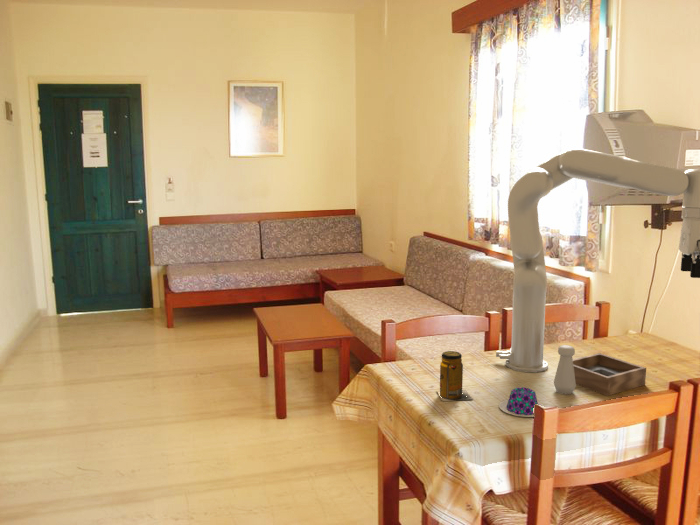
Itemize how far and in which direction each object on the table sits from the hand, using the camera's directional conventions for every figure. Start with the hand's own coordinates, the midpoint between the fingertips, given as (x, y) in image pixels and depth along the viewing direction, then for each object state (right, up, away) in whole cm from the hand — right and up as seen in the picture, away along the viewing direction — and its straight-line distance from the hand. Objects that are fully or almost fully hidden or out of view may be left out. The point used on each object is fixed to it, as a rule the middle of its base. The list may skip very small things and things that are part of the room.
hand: (691, 274), depth 188 cm
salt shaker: (-37, -32, -5) cm, 50 cm away
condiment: (-68, -33, -7) cm, 76 cm away
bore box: (-24, -31, +3) cm, 39 cm away
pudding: (-52, -35, -16) cm, 64 cm away
